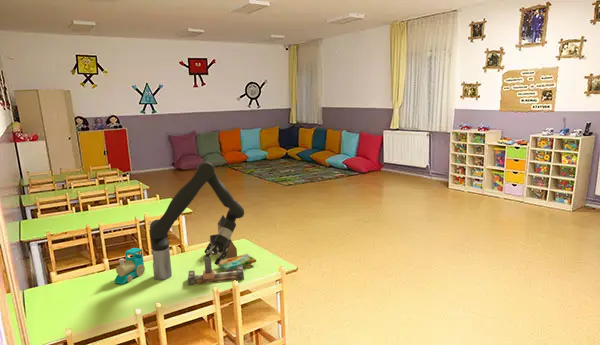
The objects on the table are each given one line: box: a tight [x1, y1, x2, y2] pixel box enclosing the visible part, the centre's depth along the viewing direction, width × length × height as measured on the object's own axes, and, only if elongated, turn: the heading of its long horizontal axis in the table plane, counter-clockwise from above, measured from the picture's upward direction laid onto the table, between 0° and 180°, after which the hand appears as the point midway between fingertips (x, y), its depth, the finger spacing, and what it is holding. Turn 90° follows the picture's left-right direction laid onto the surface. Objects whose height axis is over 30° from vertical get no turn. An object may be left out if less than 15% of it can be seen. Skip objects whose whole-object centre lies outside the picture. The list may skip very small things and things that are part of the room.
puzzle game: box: [217, 253, 257, 272], centre depth 244 cm, size 12×5×20 cm
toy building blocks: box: [209, 214, 238, 259], centre depth 260 cm, size 12×19×25 cm
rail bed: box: [187, 265, 245, 286], centre depth 228 cm, size 30×9×5 cm, turn 101°
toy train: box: [113, 247, 146, 285], centre depth 232 cm, size 8×17×15 cm, turn 158°
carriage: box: [202, 256, 215, 280], centre depth 227 cm, size 6×6×11 cm
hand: (210, 262), depth 228 cm, fingers open, 8 cm apart
